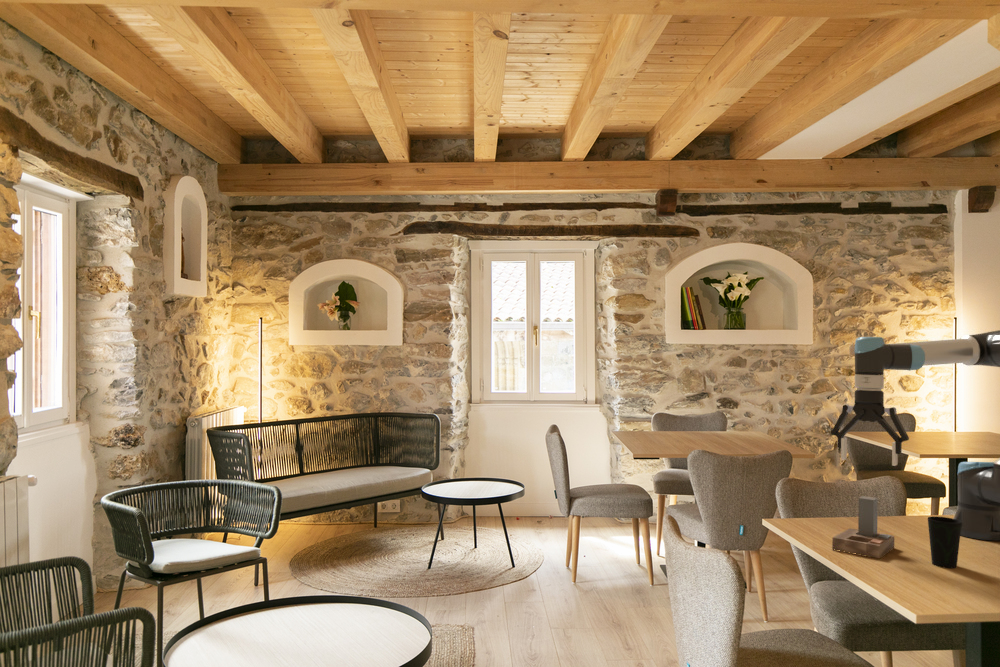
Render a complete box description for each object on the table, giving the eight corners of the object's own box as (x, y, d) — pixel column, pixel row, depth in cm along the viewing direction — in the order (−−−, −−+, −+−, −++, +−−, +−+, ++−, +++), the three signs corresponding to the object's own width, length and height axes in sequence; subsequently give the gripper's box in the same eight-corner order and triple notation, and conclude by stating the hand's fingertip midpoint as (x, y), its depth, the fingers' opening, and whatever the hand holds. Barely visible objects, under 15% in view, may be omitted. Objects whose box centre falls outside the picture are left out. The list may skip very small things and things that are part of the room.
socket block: (894, 548, 203) (894, 534, 203) (879, 558, 191) (879, 544, 191) (849, 539, 211) (849, 526, 211) (832, 549, 199) (832, 536, 199)
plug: (877, 546, 204) (877, 498, 204) (873, 549, 201) (873, 500, 201) (862, 543, 207) (862, 496, 207) (858, 546, 204) (858, 497, 204)
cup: (950, 570, 181) (950, 524, 182) (921, 562, 188) (921, 517, 189) (967, 567, 185) (967, 521, 185) (938, 559, 192) (938, 515, 192)
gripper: (820, 387, 211) (819, 458, 210) (914, 392, 194) (914, 469, 193) (828, 387, 216) (827, 456, 216) (920, 391, 200) (920, 466, 199)
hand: (868, 462), depth 205 cm, fingers open, 13 cm apart
